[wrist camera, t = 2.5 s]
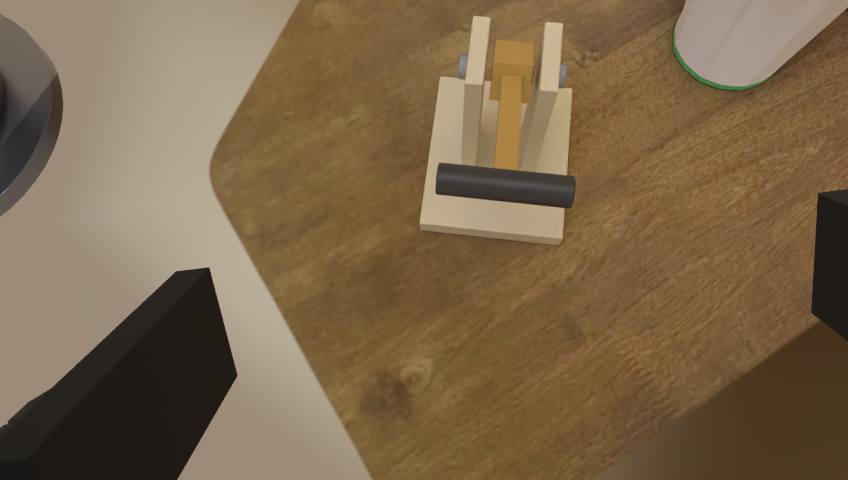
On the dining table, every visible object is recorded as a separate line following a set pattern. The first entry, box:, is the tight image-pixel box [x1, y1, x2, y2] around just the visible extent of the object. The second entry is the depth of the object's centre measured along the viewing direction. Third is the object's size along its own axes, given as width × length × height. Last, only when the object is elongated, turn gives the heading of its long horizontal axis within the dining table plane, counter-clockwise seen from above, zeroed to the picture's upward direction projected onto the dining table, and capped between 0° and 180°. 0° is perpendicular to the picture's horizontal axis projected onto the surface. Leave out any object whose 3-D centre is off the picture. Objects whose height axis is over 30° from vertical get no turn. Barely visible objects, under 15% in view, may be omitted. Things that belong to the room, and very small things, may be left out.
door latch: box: [419, 16, 572, 245], centre depth 42 cm, size 12×10×14 cm
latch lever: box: [435, 40, 575, 209], centre depth 33 cm, size 13×6×2 cm, turn 173°
